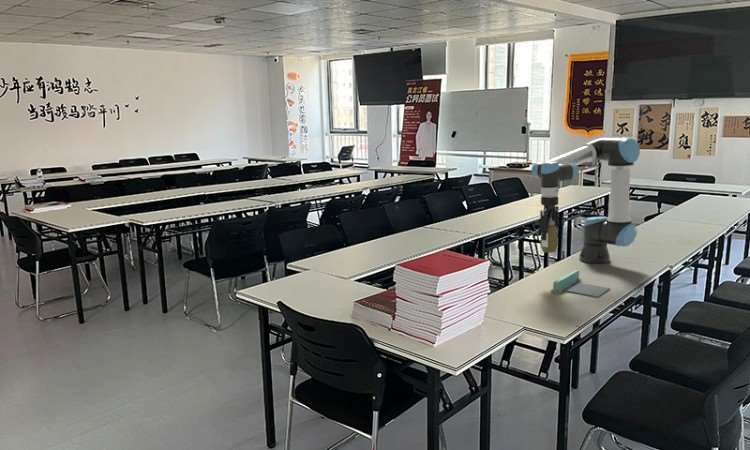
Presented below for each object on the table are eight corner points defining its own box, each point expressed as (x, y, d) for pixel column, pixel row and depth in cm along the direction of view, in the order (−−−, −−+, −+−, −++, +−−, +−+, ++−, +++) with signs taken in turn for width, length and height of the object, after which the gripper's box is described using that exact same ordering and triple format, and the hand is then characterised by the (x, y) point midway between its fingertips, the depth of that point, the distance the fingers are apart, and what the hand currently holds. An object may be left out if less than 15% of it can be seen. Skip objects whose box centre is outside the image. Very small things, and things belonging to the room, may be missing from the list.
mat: (566, 291, 247) (566, 290, 246) (579, 283, 257) (579, 282, 256) (597, 297, 237) (597, 296, 237) (610, 289, 247) (610, 288, 247)
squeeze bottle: (543, 248, 262) (543, 211, 259) (560, 250, 258) (561, 212, 254) (537, 252, 256) (537, 214, 252) (554, 254, 251) (555, 215, 248)
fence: (550, 292, 246) (550, 281, 245) (573, 279, 264) (573, 269, 263) (559, 294, 244) (559, 283, 243) (581, 280, 261) (581, 270, 260)
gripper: (547, 200, 242) (546, 250, 246) (567, 193, 256) (566, 241, 261) (531, 199, 247) (531, 248, 251) (552, 192, 261) (551, 239, 266)
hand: (549, 244), depth 256 cm, fingers closed on squeeze bottle, 8 cm apart
